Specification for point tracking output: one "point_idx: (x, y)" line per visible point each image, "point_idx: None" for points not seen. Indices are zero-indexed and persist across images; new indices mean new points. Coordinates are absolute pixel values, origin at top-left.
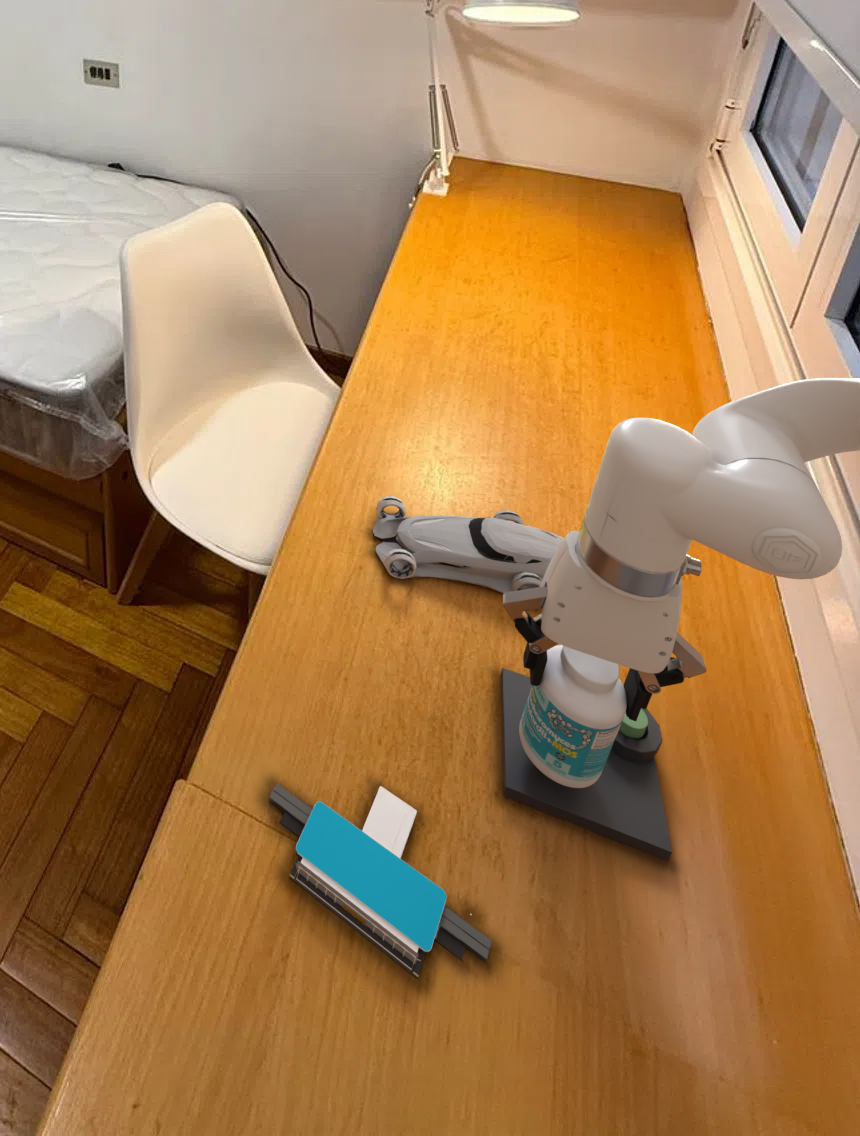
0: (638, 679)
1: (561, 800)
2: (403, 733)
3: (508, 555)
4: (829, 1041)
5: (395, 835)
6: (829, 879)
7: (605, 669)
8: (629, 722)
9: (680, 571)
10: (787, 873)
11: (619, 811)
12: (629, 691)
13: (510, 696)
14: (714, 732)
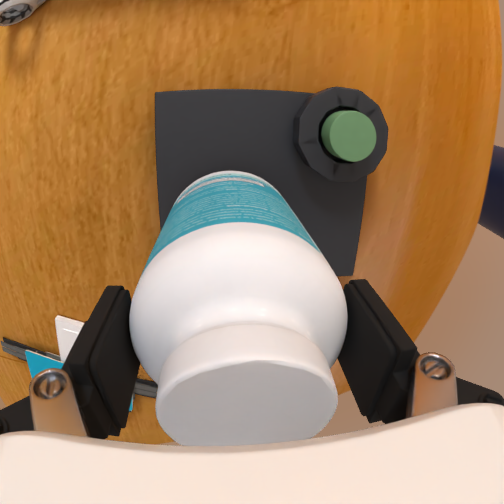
0: (381, 402)
1: None
2: (55, 246)
3: None
4: (411, 338)
5: None
6: (473, 221)
7: (289, 429)
8: (347, 154)
9: None
10: (447, 230)
11: None
12: (354, 351)
13: (166, 140)
14: (437, 89)
